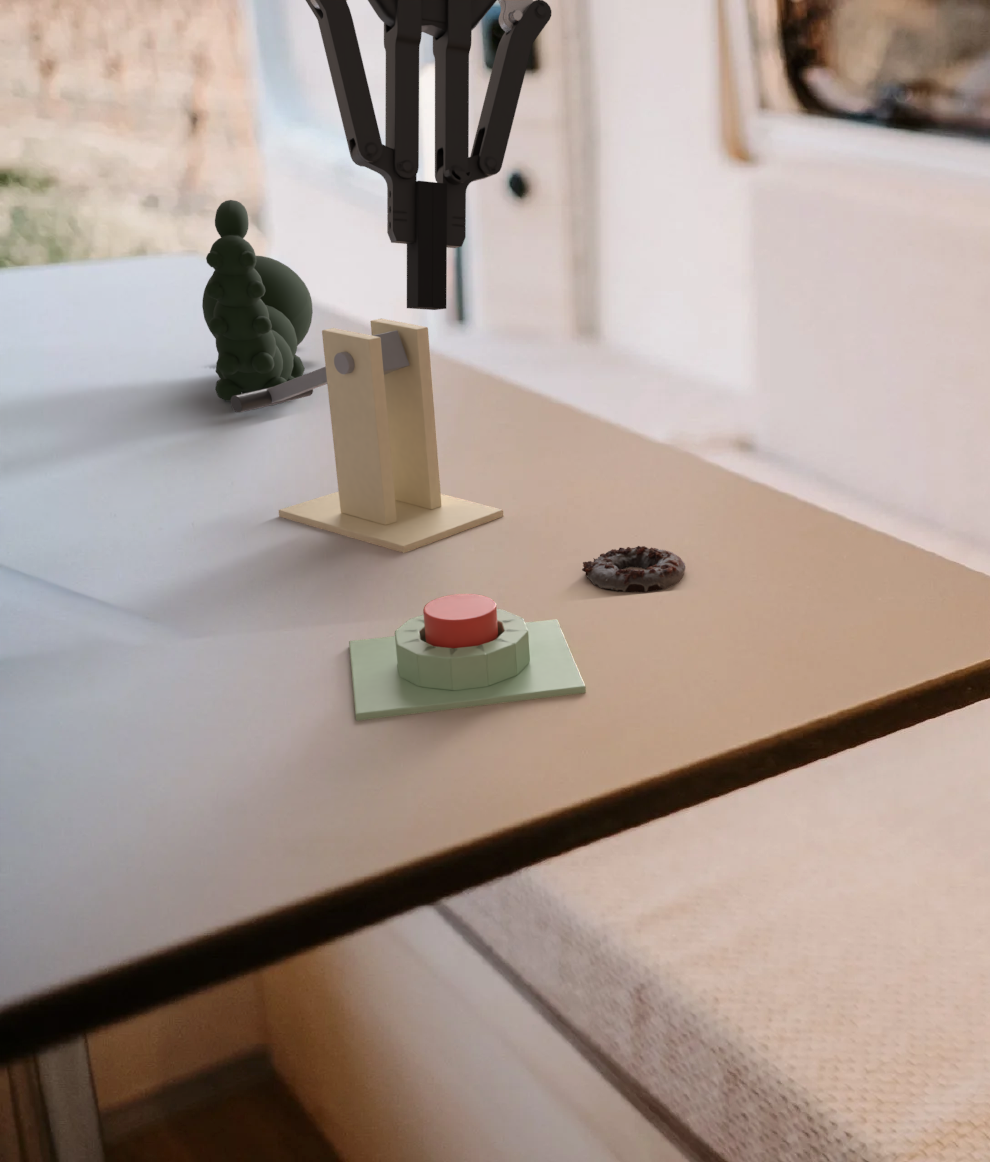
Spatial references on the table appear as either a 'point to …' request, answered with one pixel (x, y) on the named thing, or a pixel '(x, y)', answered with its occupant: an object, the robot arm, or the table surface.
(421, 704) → the button block
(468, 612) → the button
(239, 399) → the lever
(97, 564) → the table surface
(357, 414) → the bracket
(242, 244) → the toy figurine
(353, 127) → the robot arm
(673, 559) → the donut
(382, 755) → the table surface
